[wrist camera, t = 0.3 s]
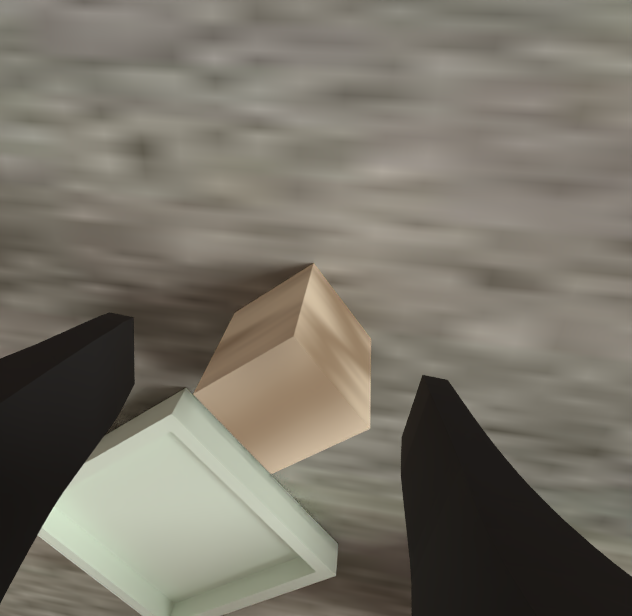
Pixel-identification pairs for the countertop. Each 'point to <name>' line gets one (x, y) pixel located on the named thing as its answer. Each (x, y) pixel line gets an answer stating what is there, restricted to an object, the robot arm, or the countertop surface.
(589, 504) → the countertop surface
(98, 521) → the tray
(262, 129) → the countertop surface
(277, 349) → the maple block
